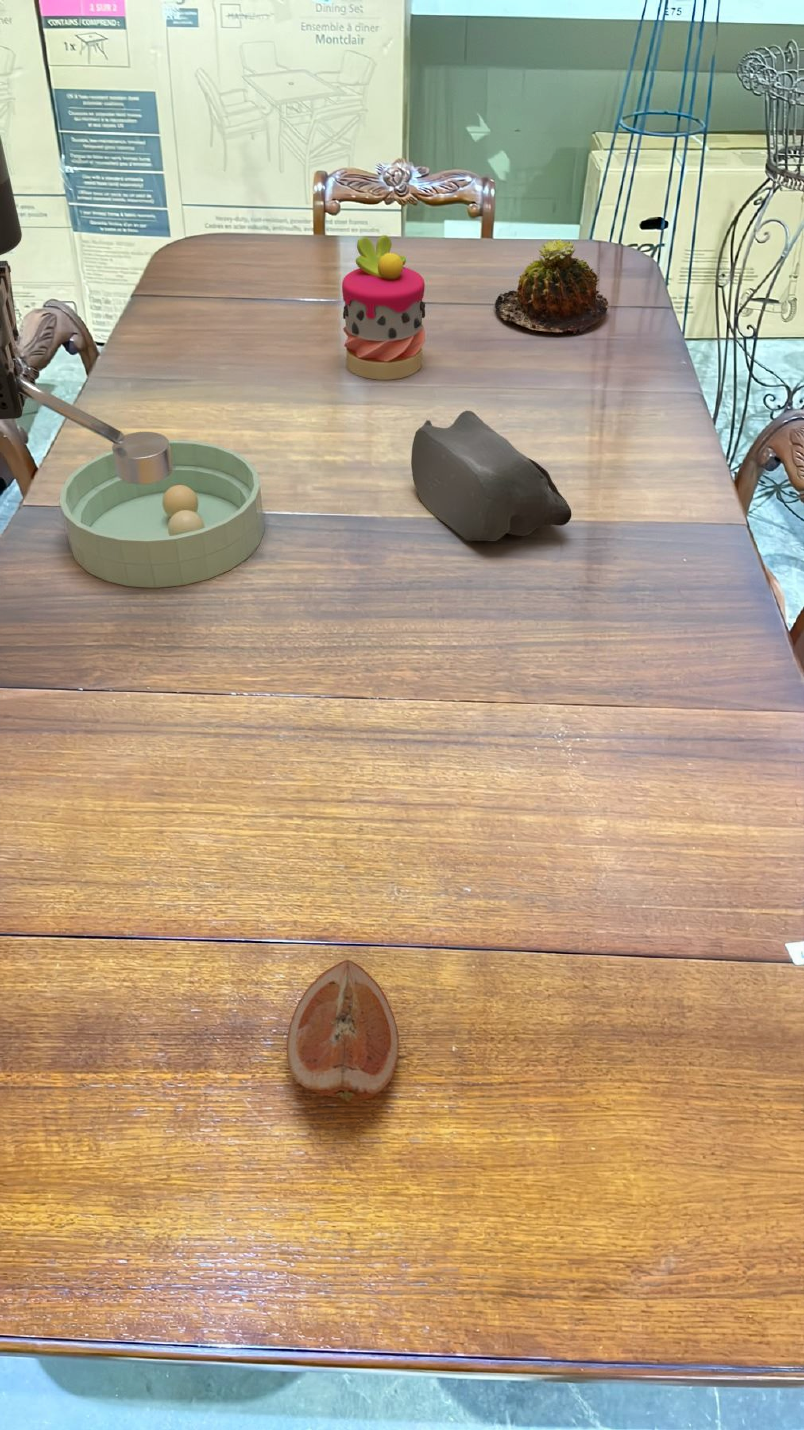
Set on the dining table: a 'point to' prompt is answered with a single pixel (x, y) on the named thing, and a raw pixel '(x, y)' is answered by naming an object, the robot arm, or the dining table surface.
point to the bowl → (163, 518)
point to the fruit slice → (343, 1035)
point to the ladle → (114, 439)
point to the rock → (482, 482)
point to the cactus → (554, 293)
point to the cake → (383, 314)
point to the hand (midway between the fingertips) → (10, 411)
